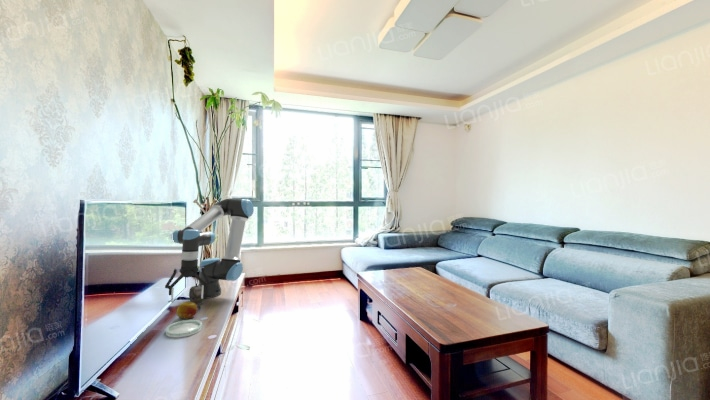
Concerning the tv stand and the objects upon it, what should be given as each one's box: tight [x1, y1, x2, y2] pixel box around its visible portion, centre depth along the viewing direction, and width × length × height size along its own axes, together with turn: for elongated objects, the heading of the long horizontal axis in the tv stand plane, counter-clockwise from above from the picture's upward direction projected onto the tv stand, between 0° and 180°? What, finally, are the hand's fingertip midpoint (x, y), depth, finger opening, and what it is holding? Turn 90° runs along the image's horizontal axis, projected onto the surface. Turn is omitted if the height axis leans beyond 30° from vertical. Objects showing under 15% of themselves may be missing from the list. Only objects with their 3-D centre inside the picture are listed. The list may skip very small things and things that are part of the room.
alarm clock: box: [188, 278, 204, 309], centre depth 163 cm, size 11×5×16 cm, turn 47°
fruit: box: [176, 301, 198, 320], centre depth 148 cm, size 10×9×8 cm
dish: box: [165, 319, 203, 339], centre depth 134 cm, size 15×15×2 cm
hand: (187, 299), depth 147 cm, fingers open, 13 cm apart
